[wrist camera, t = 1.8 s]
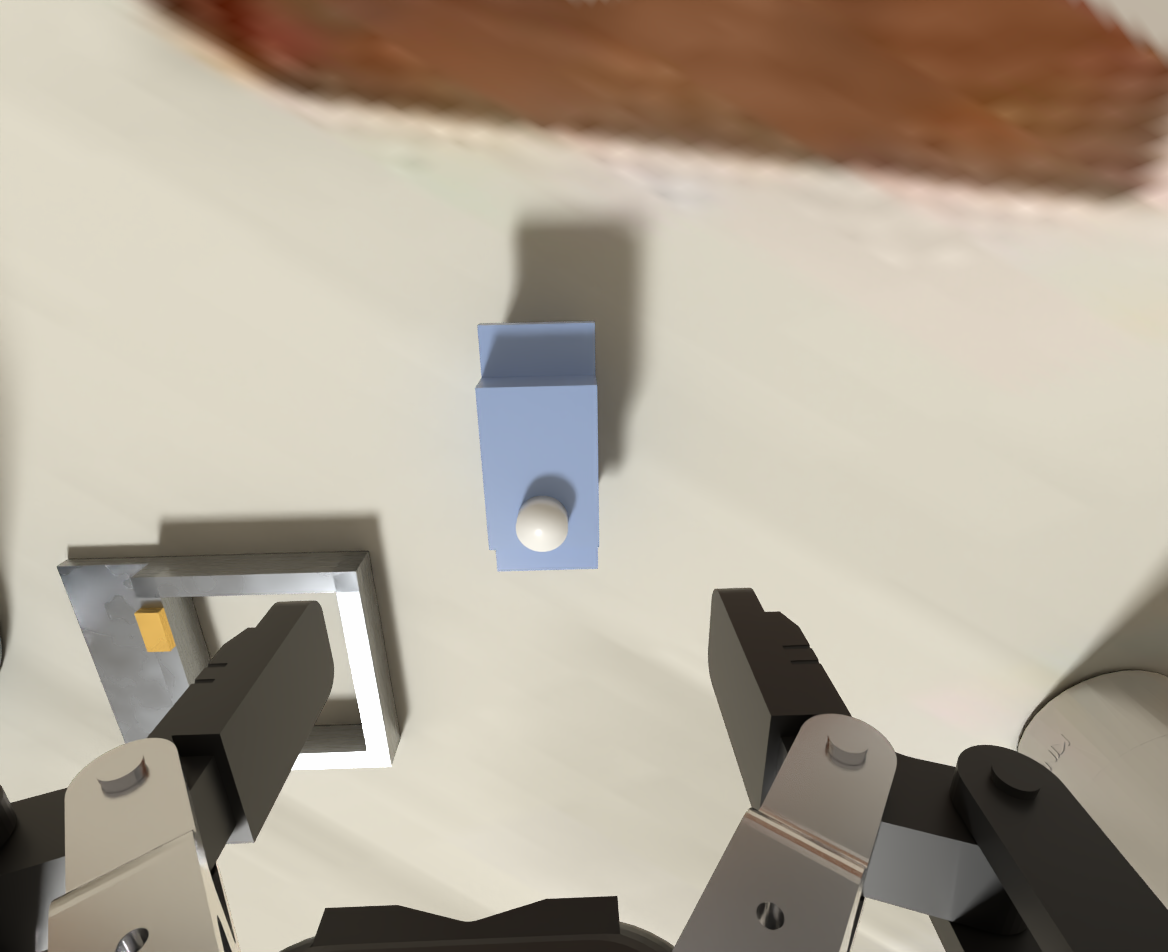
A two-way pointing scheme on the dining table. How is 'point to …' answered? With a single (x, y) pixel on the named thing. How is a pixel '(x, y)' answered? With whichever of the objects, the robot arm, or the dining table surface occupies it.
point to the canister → (0, 650)
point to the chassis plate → (178, 651)
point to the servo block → (539, 443)
